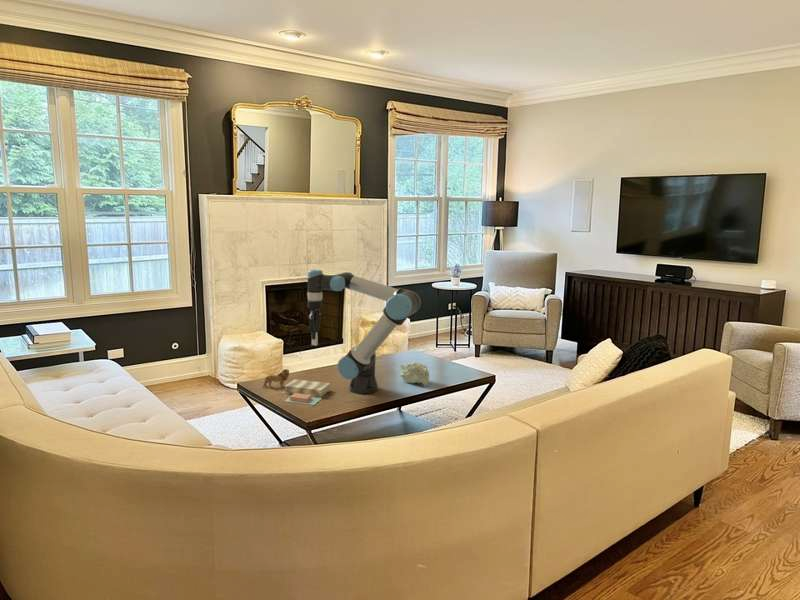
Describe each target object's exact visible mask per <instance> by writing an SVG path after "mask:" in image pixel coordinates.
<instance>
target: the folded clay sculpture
mask: <svg viewBox="0 0 800 600" xmlns="http://www.w3.org/2000/svg"><path fill="white" fill-rule="evenodd" d="M399 368H400V370H401V371H400V373H399V374H400V377H401V378H402V380H403V383H406V384H408V383H409V384H415V383H418V384H420V383H421V384H422V386H423V387H426V386H427V385H428V382H429V381H430V372H429V370H428V367H427V365H426V363H424V362H422V363H420V362H418V361H413V362H407V365H402V364H400V365H399Z"/></svg>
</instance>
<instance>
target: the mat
mask: <svg viewBox="0 0 800 600" xmlns="http://www.w3.org/2000/svg"><path fill="white" fill-rule="evenodd" d="M322 398H323V397H322ZM322 398H320V397H312V399H311V400H309V401H308V402H307V403H305V402H297V401H290V396H288V398H286V399H284V400H283V403H291V404H292V403H293V404H298V405H299V404H300V405H308V406H315V405H316V404H318V403H319V402H320V401H322V400H323V399H322ZM317 402H318V403H317Z"/></svg>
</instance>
